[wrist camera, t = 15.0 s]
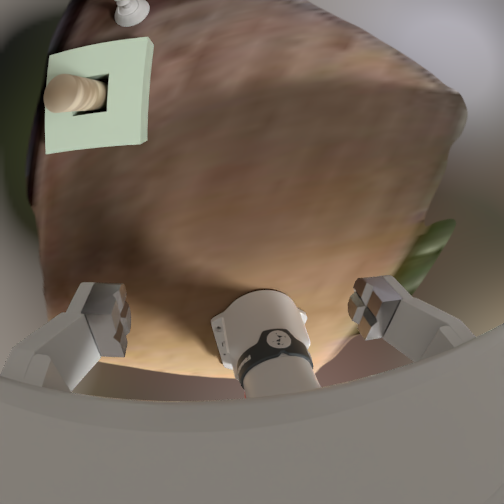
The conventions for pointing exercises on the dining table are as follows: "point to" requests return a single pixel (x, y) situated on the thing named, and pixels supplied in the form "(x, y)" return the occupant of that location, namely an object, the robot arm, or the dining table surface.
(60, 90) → the peg
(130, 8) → the chalice
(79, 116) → the socket block
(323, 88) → the dining table surface
